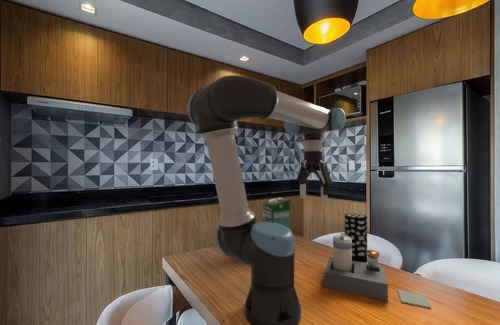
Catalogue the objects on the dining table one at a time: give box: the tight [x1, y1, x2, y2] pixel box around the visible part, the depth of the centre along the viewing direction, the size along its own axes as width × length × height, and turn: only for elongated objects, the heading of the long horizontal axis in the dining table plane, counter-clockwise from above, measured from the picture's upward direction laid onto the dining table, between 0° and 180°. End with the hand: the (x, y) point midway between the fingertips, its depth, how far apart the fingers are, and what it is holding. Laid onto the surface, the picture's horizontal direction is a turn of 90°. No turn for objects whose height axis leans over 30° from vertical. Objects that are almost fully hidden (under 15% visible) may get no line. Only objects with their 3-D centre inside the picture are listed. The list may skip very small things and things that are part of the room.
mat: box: [397, 289, 432, 310], centre depth 70 cm, size 7×7×1 cm
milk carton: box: [262, 196, 291, 230], centre depth 106 cm, size 9×9×25 cm
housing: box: [324, 256, 389, 302], centre depth 79 cm, size 14×18×5 cm
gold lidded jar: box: [366, 249, 380, 272], centre depth 79 cm, size 4×4×6 cm
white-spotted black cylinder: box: [344, 212, 368, 263], centre depth 93 cm, size 8×8×20 cm
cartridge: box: [332, 232, 352, 273], centre depth 81 cm, size 6×6×16 cm
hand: (312, 200), depth 98 cm, fingers open, 13 cm apart
